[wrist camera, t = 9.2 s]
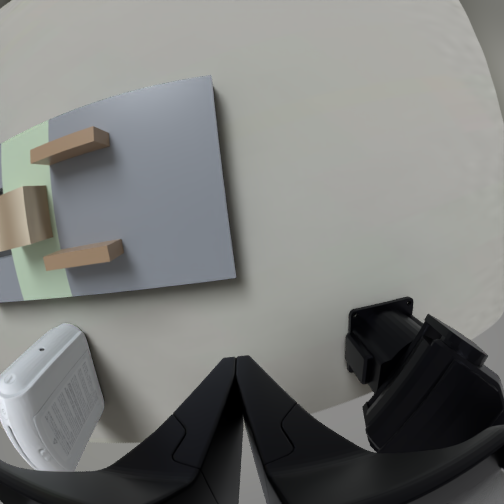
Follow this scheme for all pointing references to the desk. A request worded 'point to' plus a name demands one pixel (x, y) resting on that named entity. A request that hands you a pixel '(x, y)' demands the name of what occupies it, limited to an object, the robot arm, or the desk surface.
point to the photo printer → (52, 400)
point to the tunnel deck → (122, 196)
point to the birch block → (24, 217)
